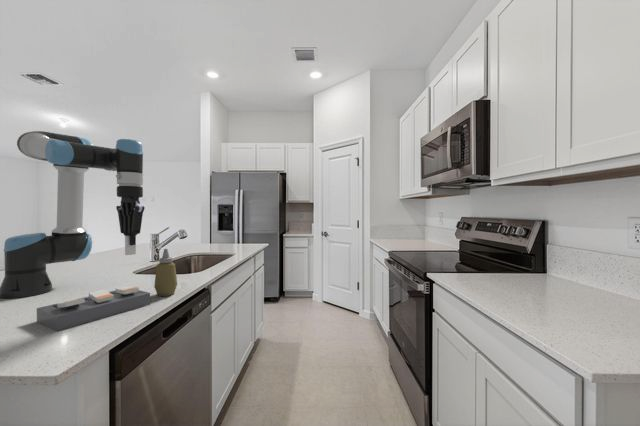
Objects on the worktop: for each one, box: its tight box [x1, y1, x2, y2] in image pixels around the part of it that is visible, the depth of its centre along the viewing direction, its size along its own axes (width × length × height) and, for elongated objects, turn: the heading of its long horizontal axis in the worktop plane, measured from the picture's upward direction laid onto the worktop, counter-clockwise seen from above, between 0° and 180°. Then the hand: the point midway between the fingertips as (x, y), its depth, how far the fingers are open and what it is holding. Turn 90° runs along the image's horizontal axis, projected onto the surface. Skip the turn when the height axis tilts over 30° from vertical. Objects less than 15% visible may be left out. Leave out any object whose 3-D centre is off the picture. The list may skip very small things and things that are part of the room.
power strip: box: [36, 289, 151, 332], centre depth 98 cm, size 20×26×5 cm
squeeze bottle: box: [154, 248, 178, 297], centre depth 116 cm, size 8×8×18 cm
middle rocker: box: [88, 289, 114, 303], centre depth 95 cm, size 6×4×1 cm
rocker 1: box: [56, 297, 85, 308], centre depth 88 cm, size 6×4×1 cm
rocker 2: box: [115, 285, 140, 294], centre depth 102 cm, size 6×4×1 cm
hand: (130, 254), depth 101 cm, fingers closed
